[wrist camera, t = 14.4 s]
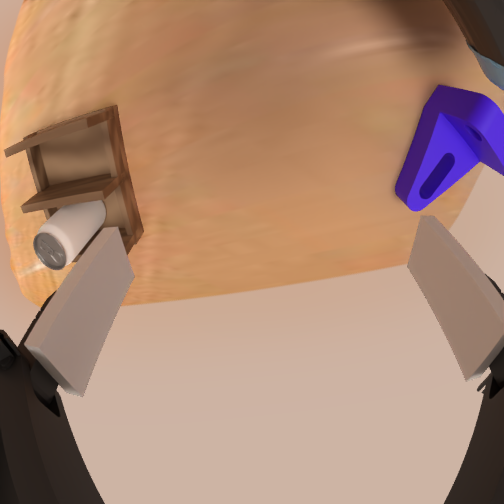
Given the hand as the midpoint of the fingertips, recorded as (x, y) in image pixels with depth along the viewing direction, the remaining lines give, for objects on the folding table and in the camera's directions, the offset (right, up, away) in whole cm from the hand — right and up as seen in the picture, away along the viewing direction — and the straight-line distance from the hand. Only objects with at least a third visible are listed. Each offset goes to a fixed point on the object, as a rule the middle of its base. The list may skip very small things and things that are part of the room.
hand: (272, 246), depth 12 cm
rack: (-26, +11, +25) cm, 38 cm away
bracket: (+26, +15, +22) cm, 37 cm away
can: (-26, +7, +27) cm, 38 cm away
